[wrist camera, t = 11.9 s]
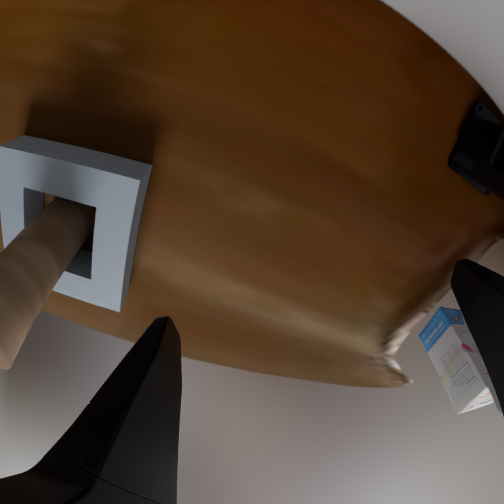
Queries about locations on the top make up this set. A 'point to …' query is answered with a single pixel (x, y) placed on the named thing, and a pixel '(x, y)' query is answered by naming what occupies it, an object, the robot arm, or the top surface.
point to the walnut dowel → (37, 268)
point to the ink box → (458, 361)
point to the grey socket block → (83, 191)
